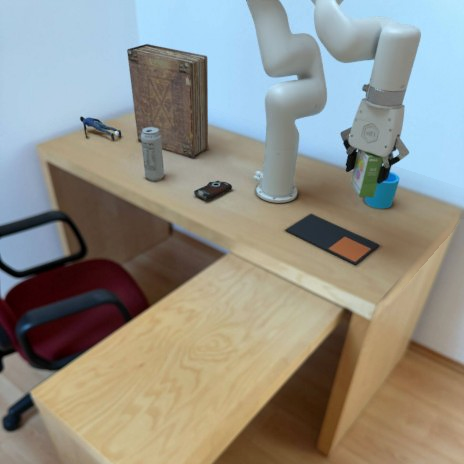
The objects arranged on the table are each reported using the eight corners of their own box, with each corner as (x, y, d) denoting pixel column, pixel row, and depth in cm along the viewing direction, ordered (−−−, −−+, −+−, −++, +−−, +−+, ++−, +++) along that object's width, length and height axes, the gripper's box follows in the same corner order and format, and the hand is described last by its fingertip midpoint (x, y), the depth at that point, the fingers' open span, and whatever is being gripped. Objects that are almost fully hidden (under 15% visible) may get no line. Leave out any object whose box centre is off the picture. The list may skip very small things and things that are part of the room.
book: (208, 149, 158) (208, 56, 137) (193, 158, 152) (190, 62, 131) (154, 133, 167) (145, 43, 147) (137, 141, 161) (126, 48, 141)
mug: (393, 210, 130) (401, 184, 125) (365, 206, 131) (371, 181, 125) (389, 191, 139) (397, 166, 133) (363, 188, 140) (369, 163, 134)
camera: (192, 187, 131) (217, 176, 137) (192, 196, 133) (217, 185, 139) (207, 193, 128) (232, 181, 134) (207, 202, 129) (232, 190, 136)
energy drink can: (168, 177, 141) (164, 130, 131) (153, 183, 137) (148, 135, 127) (156, 171, 144) (151, 124, 134) (141, 177, 140) (135, 129, 130)
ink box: (349, 184, 108) (362, 128, 99) (365, 183, 108) (379, 128, 99) (357, 198, 103) (371, 140, 93) (374, 197, 103) (389, 140, 94)
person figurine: (128, 139, 166) (91, 122, 171) (127, 127, 163) (90, 110, 168) (108, 148, 159) (70, 130, 164) (108, 136, 156) (69, 118, 160)
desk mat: (285, 231, 120) (285, 229, 119) (310, 215, 126) (311, 213, 126) (355, 265, 109) (355, 263, 109) (378, 246, 116) (379, 244, 115)
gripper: (339, 89, 93) (325, 169, 105) (416, 110, 84) (391, 194, 96) (357, 82, 97) (341, 159, 109) (433, 102, 89) (406, 183, 101)
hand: (365, 175), depth 103 cm, fingers closed on ink box, 7 cm apart
